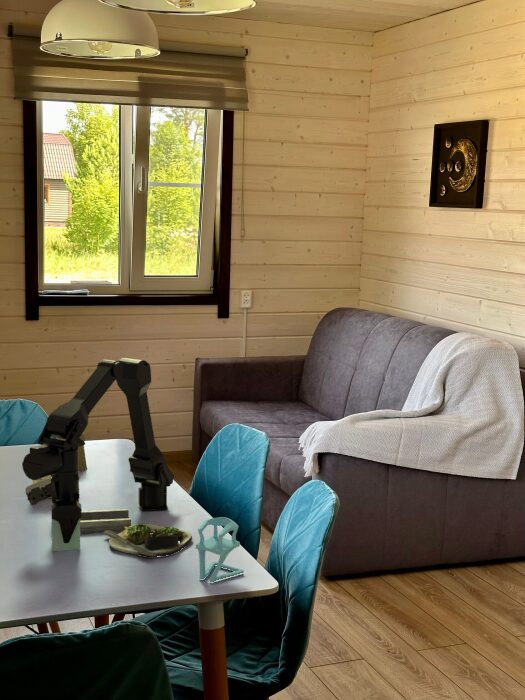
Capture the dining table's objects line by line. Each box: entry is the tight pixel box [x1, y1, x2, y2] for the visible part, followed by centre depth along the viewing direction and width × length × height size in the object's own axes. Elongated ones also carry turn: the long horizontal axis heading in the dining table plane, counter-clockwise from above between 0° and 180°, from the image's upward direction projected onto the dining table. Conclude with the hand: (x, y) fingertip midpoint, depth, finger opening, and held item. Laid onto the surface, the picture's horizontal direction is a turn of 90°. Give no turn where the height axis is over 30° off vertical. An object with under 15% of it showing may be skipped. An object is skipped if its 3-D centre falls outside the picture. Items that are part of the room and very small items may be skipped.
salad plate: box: [103, 522, 193, 558], centre depth 206 cm, size 19×18×5 cm
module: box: [51, 518, 81, 552], centre depth 203 cm, size 6×4×8 cm
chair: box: [195, 516, 245, 582], centre depth 188 cm, size 8×8×12 cm
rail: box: [80, 508, 132, 535], centre depth 216 cm, size 18×9×4 cm, turn 103°
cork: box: [79, 431, 88, 473], centre depth 262 cm, size 6×6×11 cm
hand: (66, 537), depth 203 cm, fingers open, 7 cm apart
